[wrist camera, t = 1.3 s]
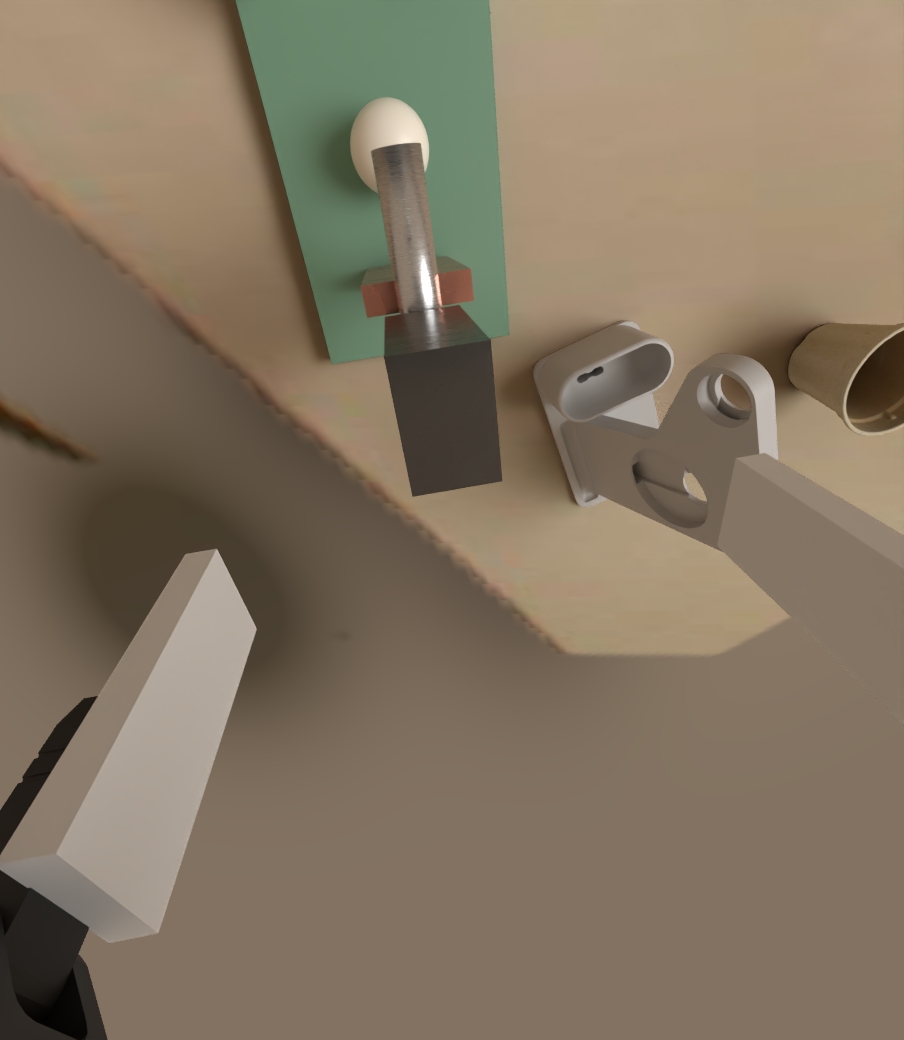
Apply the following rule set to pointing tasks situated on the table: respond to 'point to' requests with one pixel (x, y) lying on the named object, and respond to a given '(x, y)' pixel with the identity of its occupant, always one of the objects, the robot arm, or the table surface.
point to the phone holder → (653, 426)
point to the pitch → (327, 130)
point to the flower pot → (854, 374)
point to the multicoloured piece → (430, 339)
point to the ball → (384, 133)
